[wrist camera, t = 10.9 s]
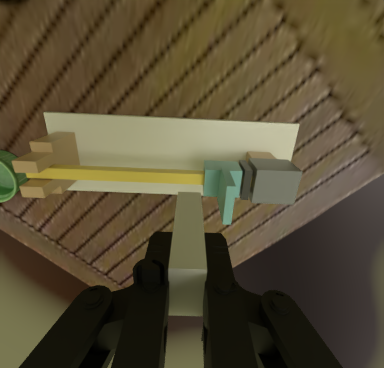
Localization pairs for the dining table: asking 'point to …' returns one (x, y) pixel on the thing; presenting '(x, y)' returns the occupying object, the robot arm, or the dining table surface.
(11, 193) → the ramekin
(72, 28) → the dining table surface
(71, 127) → the cord rig
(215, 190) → the sleeve
